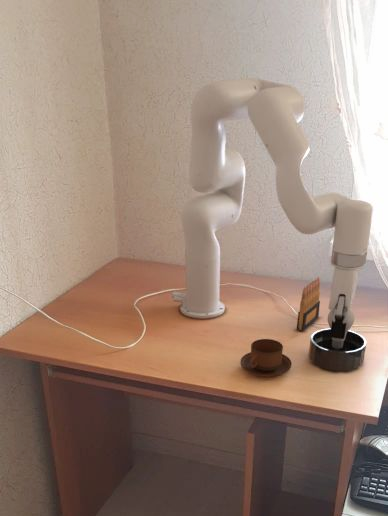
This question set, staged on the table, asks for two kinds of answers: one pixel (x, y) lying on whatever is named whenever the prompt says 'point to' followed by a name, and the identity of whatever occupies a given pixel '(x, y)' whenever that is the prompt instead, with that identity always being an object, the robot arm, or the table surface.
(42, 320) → the table surface
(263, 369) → the cup and saucer
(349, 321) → the lightbulb
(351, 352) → the bowl
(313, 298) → the ammunition clip
